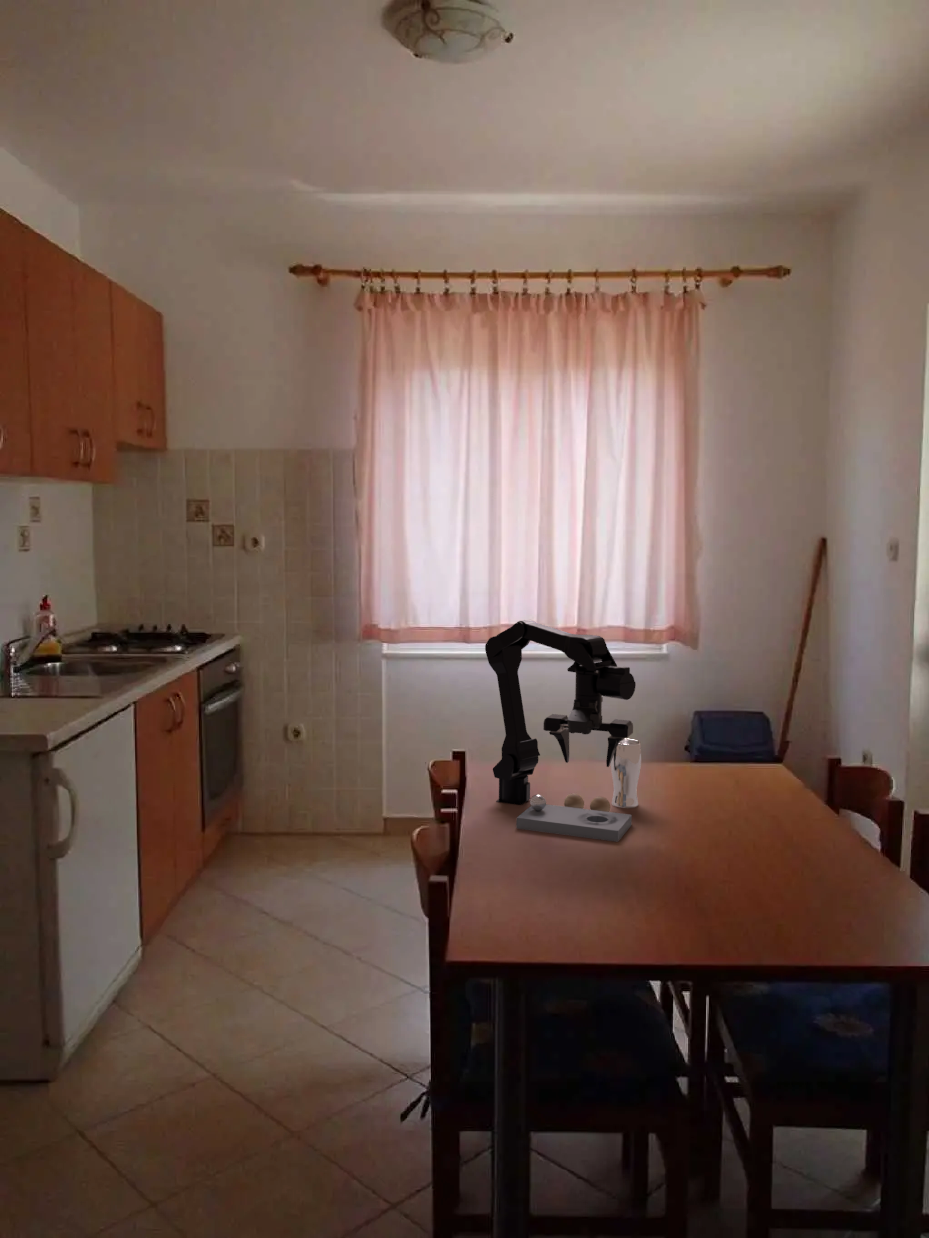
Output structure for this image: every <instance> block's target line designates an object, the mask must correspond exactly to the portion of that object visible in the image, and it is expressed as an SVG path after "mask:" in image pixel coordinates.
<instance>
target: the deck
mask: <svg viewBox="0 0 929 1238" xmlns="http://www.w3.org/2000/svg"><path fill="white" fill-rule="evenodd" d="M632 817H633V816H632V814H629V813H622V812H621V813H620V812H614V811H613V812H611V811H609V812H605V811H597V810H591V809H590V808H589V809H588V808H583V809H581V808H573V807H565V806H564V805H556V804H555V805H554V804H547V803H546V806H545V808H544V809H543V810H541V811H536V810H534V809H533V808H532V807H531V805H530V806H529V807H528V808H527V809H525V810H524V811H523V812H522V813H520V814H519V815H518V816H516V825H515V827H516V829H518V830H526V831H533V832H540V833H548V834H549V833H550V834H554V835H555V834H557V835H563V836H564V835H565V836H571V837H578V838H585V839H594V840H600V839H601V840H600V841H609V842H617V843H618V842H620V840H621V839H622V838H623V836H624V835H625V834H626V833H627V831H629V829H630V828H631V827H632V820H633V819H632Z"/></svg>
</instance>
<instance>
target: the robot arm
mask: <svg viewBox="0 0 929 1238" xmlns="http://www.w3.org/2000/svg"><path fill="white" fill-rule="evenodd" d="M605 640H606V639H605V638H603V636H601V635H597V634H596V635H593V634H577V633H575V634H574V633H570V632H566V631H564V630H561V629H558V628H555V627H551V626H548V625H545V624H542V623H538V622H536V621H535V620H532V619H527V620H525V619H524V620H519V621H517V622H515V623H514V624H512V625H511V626H509V628H507V629H505V630H503V631H502V632H499V633H498V634H496V635H495V636H491V637H490V638H488V639H487V642H486V643H485V645H484V650H485V651H484V652H485V654H486V658H487V661H488V665H489V666H490V667H491V669H492V670H493V671H494V673H495V674H496V677H497V678H496V679H497V684H498V690H499V698H500V705H501V710H502V719H503V725H504V731H505V732H504V733H505V737H504V740H503V742H502V746H501V759H500V760H499V761H498V762H497V763H496V764H495V766H494V767H493V768H492V772H493V776H494V778H495V779H498V799H497V800H496V801H495V802H496V803H500V804H501V803H502V804H507V805H508V804H509V805H517V806H523V805H524V804H525V803H527V802H528V801H530V800H531V783H530V782H529V776H530V775H531V776H532V775H533V774H534V770H535V769H536V768H535V767H537V765H538V763H539V756H541V754H540V751H539V741H538V739H537V738H532V737H531V735H530V734H529V733H528V731H527V726H526V725H527V724H526V719H525V712H524V706H523V699H522V693H521V686H520V685H521V684H520V680H519V668H520V665H521V662H522V659H523V649H525V648H526V647H527V646H528V645H529V643H530V642H534V643H536V644H539V645H542V646H546V647H548V648H551V649H554V650H557V651H561V652H562V653H563V654H564V655H565V656H566V658H569V659H570V660H571V661H573V663H572V665H570V666H569V667H567V672H569V673H575V688H574V689H575V691H574V692H575V695H574V700H573V707H572V710H571V711H570V712H569V715H567V714H556V713H555V714H553V713H552V714H550V715H548V716H547V717H545V719H544V720H543V731H545V732H549V735H551V736H553V737H554V738H555V739H556V740H557V742H558V745H559V747H560V750H561V754H562V756H563V759H564V762H565V764H566V763H567V764H568V763H569V761H570V734H575V733H576V734H582V735H590V734H591V733H592V731H598V732H608V733H609V736H608V737H607V751H606V762H605V763H606V764H605V765H606V768H609V767H611V761H612V758H613V756H614V753H615V750H616V748H617V746H618V744H619V742H620V741H622V740H623V739H629V737H630V736H631V735H632V734H633V733H634V724H633V722H632V721H631V720H628V719H616V718H615V719H613V720H612V721H611V722H603V715H602V713H603V711H602V710H603V709H602V707H603V706H602V705H603V702H604V700H603V698H604V697H606V698H613V699H618V700H625V701H627V700H630V699H631V698H632V697H633V696H634V693H635V691H636V681H635V677H634V675H633V674H632V673H631V668H630V667H629V666H618V664H617V663H616V661H615V659H614V657H613V655H612V654H611V652H610V650H609V648H608V646H607V643H606V641H605ZM602 696H603V697H602Z"/></svg>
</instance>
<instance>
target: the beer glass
mask: <svg viewBox="0 0 929 1238" xmlns="http://www.w3.org/2000/svg"><path fill="white" fill-rule="evenodd" d="M641 748H642V747H641V741H640V740H637V739H633V738H624V739H623V740H622V741H620V742H619V744H618V746H617V748H616V750H615V753H614V756H613V758H612V761H611V763H610V770H611V771H610V772H611V778H612V783H613V785H612V786H613V794H612V800H611V805H612V806H614V807H616V808H622V809H634V808H637V807H638V806H639V799H638V795H637V794H638V793H637V792H638V791H637V789H638V782H639V778H640V772H641V766H642V749H641Z"/></svg>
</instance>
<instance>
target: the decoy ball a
mask: <svg viewBox="0 0 929 1238" xmlns="http://www.w3.org/2000/svg"><path fill="white" fill-rule="evenodd" d="M563 806H565V807H573V808H581V809H584V807H585V800H584V798H583V797H582V796H581V795H580V794H578V793H577V792H576V793H575V792H574V793H569V794H567V796H565V799H564V801H563Z"/></svg>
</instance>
